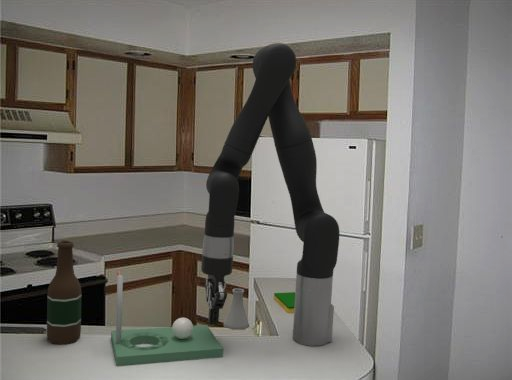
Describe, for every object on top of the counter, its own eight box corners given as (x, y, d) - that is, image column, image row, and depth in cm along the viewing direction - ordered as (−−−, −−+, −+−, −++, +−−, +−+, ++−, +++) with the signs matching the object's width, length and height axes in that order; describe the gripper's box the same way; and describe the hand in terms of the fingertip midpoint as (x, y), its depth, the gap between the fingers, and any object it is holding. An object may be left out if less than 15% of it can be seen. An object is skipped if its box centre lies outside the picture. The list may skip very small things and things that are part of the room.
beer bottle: (87, 337, 138) (89, 241, 135) (64, 347, 131) (65, 246, 128) (63, 330, 141) (64, 237, 139) (39, 340, 134) (40, 242, 132)
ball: (190, 333, 138) (191, 314, 138) (194, 341, 134) (195, 321, 133) (170, 335, 137) (170, 315, 136) (173, 342, 132) (174, 322, 131)
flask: (246, 332, 147) (248, 295, 146) (219, 328, 148) (221, 292, 147) (252, 323, 154) (254, 287, 153) (226, 320, 155) (228, 285, 154)
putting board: (206, 332, 145) (209, 264, 143) (222, 356, 130) (226, 281, 128) (111, 338, 138) (112, 267, 136) (116, 365, 123) (118, 285, 121)
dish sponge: (288, 314, 164) (288, 306, 164) (273, 300, 177) (273, 292, 177) (310, 313, 166) (311, 305, 166) (294, 299, 179) (294, 291, 179)
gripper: (240, 259, 130) (235, 331, 132) (225, 247, 143) (220, 313, 145) (209, 260, 128) (204, 333, 130) (196, 247, 140) (192, 314, 142)
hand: (213, 322), depth 137 cm, fingers closed
